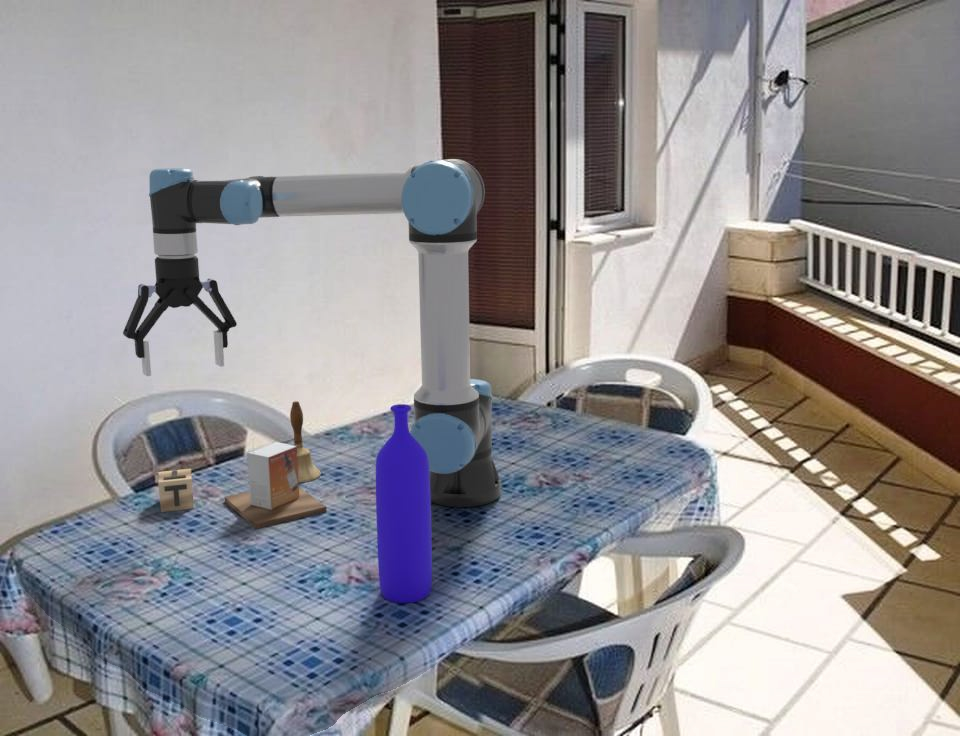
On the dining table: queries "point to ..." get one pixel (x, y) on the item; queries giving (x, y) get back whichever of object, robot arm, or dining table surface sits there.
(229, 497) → the walnut board
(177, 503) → the letter cube
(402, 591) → the bottle
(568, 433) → the dining table surface
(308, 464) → the hand bell
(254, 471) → the small box
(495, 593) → the dining table surface
